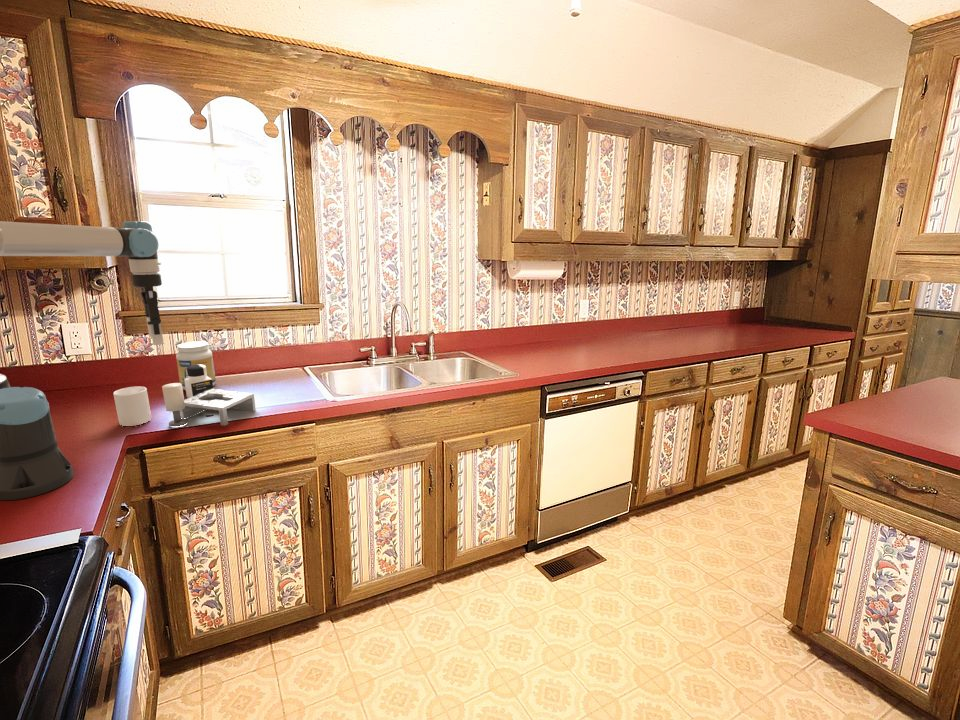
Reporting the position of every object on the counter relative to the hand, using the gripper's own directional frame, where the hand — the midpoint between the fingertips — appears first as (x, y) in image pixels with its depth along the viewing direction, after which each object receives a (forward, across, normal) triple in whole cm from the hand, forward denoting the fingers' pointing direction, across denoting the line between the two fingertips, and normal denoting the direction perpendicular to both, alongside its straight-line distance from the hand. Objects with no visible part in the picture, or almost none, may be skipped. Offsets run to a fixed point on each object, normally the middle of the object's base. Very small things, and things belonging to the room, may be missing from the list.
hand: (156, 340), depth 158 cm
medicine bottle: (+25, +13, -12) cm, 31 cm away
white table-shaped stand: (+25, -10, -14) cm, 30 cm away
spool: (+25, -12, -2) cm, 28 cm away
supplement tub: (+25, +27, -13) cm, 39 cm away
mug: (+26, 0, +9) cm, 27 cm away
